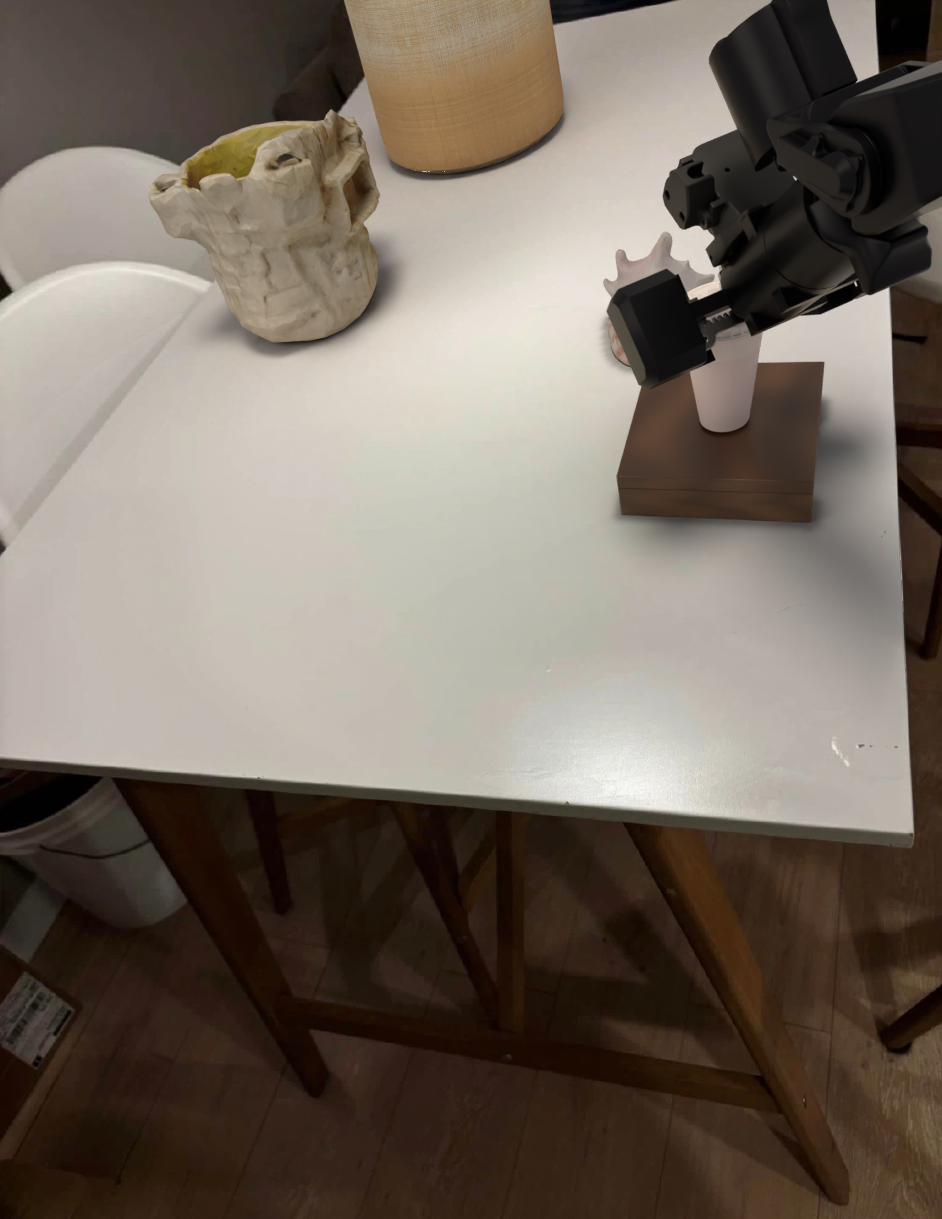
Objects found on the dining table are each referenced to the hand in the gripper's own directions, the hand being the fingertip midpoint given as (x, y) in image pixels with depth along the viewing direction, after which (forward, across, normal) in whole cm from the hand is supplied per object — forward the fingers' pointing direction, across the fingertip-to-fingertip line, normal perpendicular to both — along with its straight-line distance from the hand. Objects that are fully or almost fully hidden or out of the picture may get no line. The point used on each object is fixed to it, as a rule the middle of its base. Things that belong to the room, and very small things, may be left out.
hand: (712, 328), depth 64 cm
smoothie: (+4, 0, +6) cm, 7 cm away
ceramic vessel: (+42, +22, -27) cm, 55 cm away
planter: (+61, -8, -46) cm, 77 cm away
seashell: (+21, -5, -5) cm, 22 cm away
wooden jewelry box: (+7, 0, +9) cm, 11 cm away
